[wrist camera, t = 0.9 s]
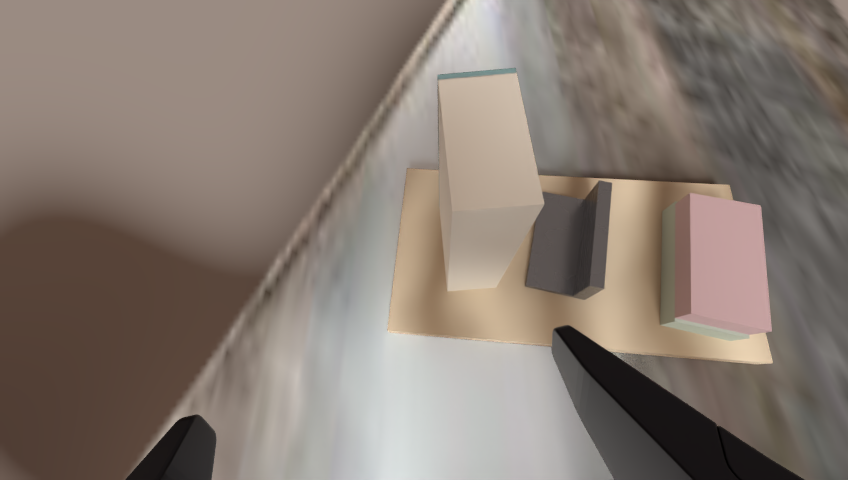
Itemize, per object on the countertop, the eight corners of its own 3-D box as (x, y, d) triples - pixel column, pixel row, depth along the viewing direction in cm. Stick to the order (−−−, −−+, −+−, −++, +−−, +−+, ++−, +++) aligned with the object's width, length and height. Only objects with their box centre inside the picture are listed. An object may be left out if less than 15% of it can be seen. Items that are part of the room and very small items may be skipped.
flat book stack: (729, 341, 22) (772, 335, 19) (660, 325, 22) (691, 317, 20) (724, 223, 25) (760, 202, 22) (662, 211, 25) (690, 189, 22)
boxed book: (495, 287, 24) (544, 204, 13) (447, 291, 24) (452, 211, 13) (483, 202, 26) (515, 67, 15) (439, 206, 26) (437, 74, 15)
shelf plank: (717, 193, 27) (729, 185, 26) (756, 364, 22) (773, 363, 21) (408, 176, 28) (407, 168, 27) (389, 332, 24) (387, 330, 23)
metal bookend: (584, 300, 23) (604, 289, 20) (524, 286, 24) (536, 273, 21) (593, 204, 26) (612, 182, 23) (539, 193, 26) (550, 171, 23)
